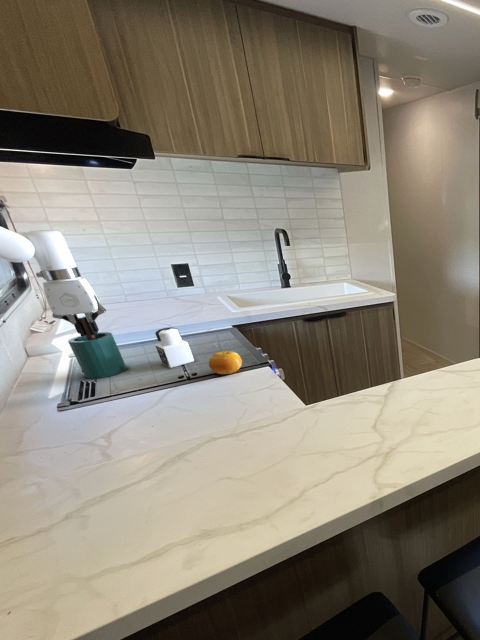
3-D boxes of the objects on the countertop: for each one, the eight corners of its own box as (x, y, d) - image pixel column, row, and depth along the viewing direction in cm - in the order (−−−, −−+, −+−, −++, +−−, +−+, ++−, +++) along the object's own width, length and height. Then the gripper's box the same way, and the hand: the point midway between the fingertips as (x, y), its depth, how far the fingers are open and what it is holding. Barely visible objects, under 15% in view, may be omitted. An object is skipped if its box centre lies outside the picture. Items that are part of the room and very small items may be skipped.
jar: (76, 378, 126) (58, 342, 121) (106, 366, 135) (90, 332, 130) (106, 378, 126) (90, 342, 121) (134, 366, 135) (120, 332, 130)
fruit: (251, 358, 130) (229, 340, 126) (232, 376, 124) (209, 359, 120) (240, 365, 135) (218, 348, 131) (222, 383, 129) (199, 366, 125)
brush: (88, 362, 127) (67, 319, 121) (101, 356, 131) (82, 315, 125) (101, 361, 127) (81, 319, 121) (114, 356, 131) (95, 315, 125)
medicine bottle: (162, 363, 136) (148, 330, 131) (186, 357, 142) (174, 324, 137) (170, 368, 132) (156, 333, 128) (194, 361, 138) (182, 328, 133)
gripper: (18, 280, 111) (50, 342, 119) (93, 274, 118) (118, 333, 126) (31, 275, 117) (61, 335, 125) (101, 270, 124) (125, 327, 132)
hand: (89, 334), depth 125 cm, fingers closed on brush
